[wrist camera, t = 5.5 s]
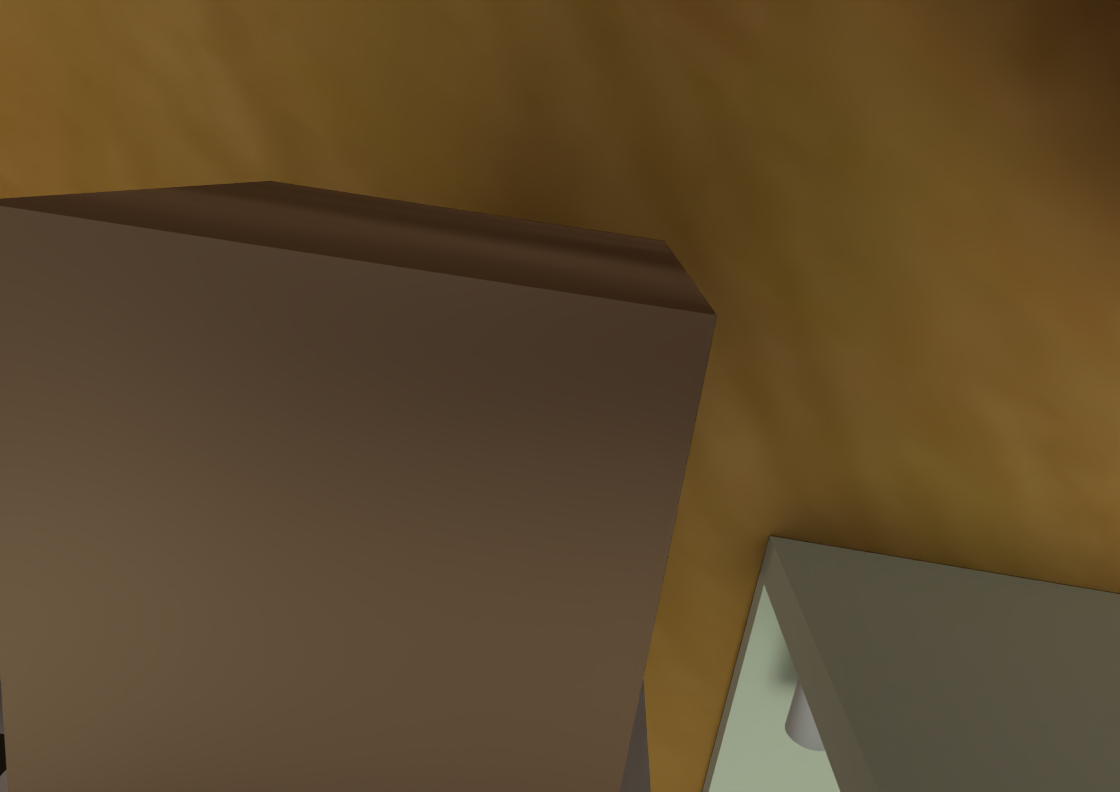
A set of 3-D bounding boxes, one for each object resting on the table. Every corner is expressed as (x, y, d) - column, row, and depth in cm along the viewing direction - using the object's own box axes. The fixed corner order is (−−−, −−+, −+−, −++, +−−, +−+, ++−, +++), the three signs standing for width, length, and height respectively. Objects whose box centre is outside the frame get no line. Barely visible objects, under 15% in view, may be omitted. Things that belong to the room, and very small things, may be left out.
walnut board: (270, 180, 12) (-33, 200, 6) (664, 240, 12) (716, 315, 6) (239, 968, 17) (48, 1392, 11) (525, 1015, 17) (482, 1466, 11)
